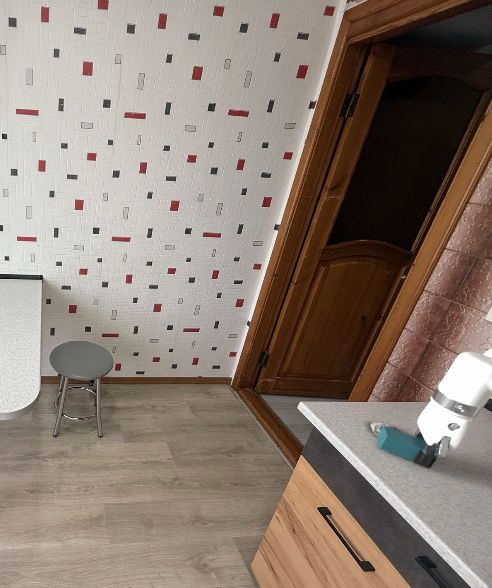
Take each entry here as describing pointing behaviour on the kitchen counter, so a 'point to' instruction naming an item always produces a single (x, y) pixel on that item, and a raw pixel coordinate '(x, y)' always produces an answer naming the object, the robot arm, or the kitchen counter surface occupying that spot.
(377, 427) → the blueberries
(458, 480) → the kitchen counter surface
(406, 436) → the teal rectangular block
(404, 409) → the kitchen counter surface
